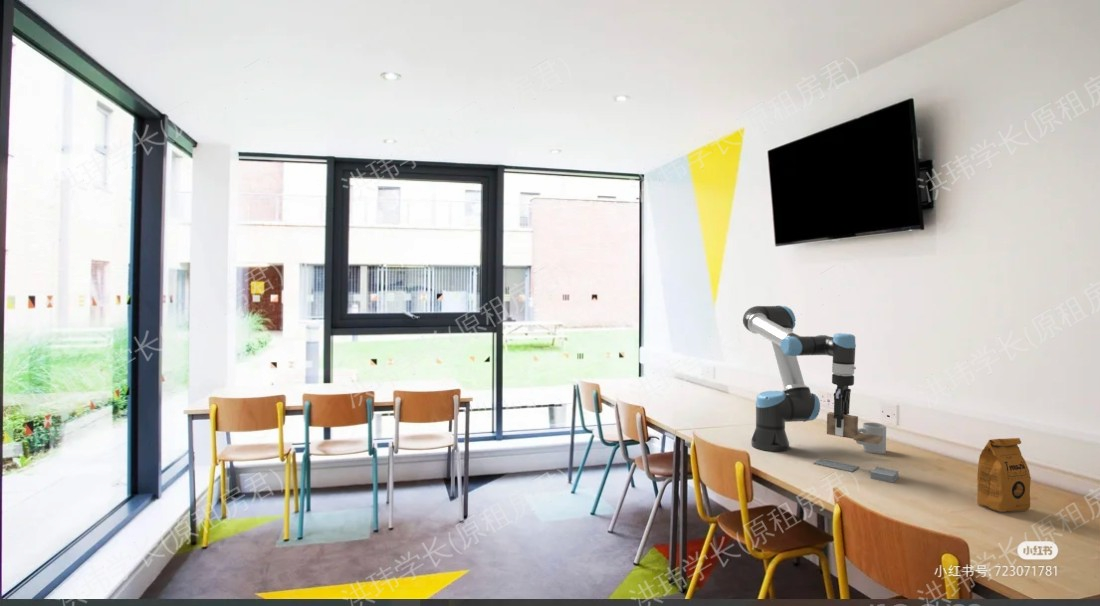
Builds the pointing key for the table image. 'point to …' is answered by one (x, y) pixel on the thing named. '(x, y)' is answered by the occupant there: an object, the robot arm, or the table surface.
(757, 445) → the robot arm
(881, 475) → the tile
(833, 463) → the pad
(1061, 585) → the table surface
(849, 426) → the stepped wooden block
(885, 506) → the table surface
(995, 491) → the coffee package
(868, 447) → the mug
